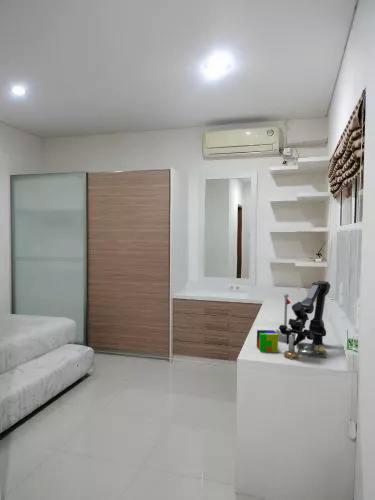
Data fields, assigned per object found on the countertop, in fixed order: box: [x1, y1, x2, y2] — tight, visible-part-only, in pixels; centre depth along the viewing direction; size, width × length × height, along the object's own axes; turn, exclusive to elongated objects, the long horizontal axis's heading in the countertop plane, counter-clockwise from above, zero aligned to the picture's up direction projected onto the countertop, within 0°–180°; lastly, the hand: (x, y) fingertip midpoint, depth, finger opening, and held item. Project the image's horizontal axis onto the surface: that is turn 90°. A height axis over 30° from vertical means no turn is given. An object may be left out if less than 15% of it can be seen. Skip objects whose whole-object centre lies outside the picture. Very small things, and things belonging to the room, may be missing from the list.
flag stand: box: [274, 293, 297, 343], centre depth 241 cm, size 13×13×30 cm
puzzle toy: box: [256, 329, 279, 353], centre depth 221 cm, size 10×10×10 cm
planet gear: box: [283, 335, 300, 360], centre depth 207 cm, size 8×7×12 cm
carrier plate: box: [296, 342, 327, 359], centre depth 215 cm, size 12×16×5 cm
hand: (290, 344), depth 206 cm, fingers open, 4 cm apart
